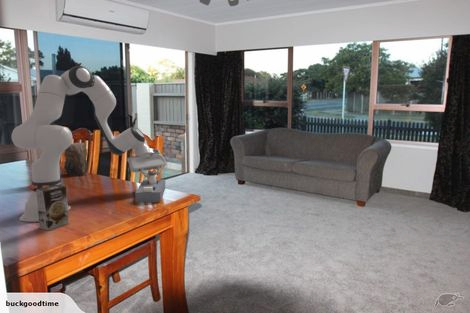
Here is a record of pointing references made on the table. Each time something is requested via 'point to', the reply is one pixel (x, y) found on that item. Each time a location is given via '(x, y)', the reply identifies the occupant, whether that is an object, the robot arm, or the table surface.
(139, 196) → the socket block
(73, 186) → the table surface
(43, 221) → the coffee box
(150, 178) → the plug
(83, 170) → the owl
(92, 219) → the table surface
